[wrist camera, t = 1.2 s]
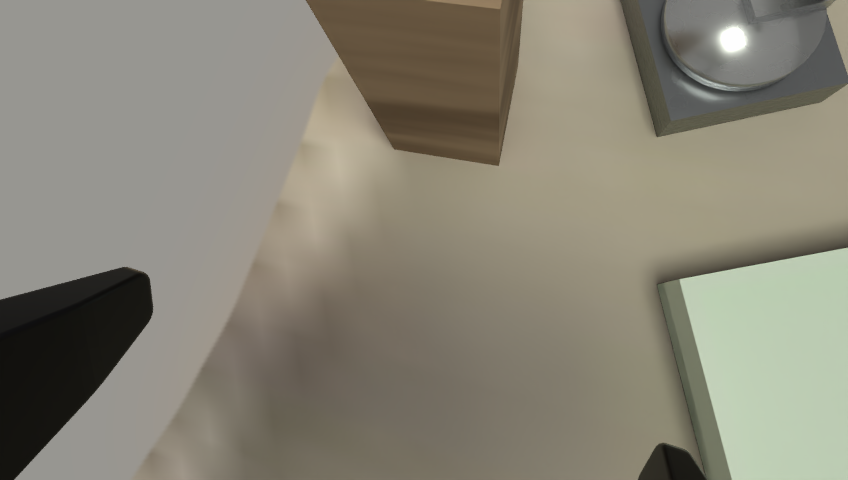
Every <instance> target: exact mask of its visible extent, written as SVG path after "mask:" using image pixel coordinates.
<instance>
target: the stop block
mask: <svg viewBox="0 0 848 480" xmlns="http://www.w3.org/2000/svg"><path fill="white" fill-rule="evenodd" d="M306 1H307V3H308V5H309V6H310V8H311V10H312V11H313V13H314V15H315V16H316V18H317V20H318V21H319V23H320V25H321V26H322V28H323V30H324V32H325V33H326V35H327V37H328V38H329V40H330V42H331V43H332V45H333V47H334V48H335V50H336V52H337V53H338V55H339V57H340V59H341V60H342V62H343V64H344V65H345V67H346V69H347V70H348V72H349V74H350V75H351V77H352V79H353V80H354V82H355V84H356V86H357V87H358V89H359V91H360V92H361V94H362V96H363V97H364V99H365V101H366V102H367V104H368V106H369V107H370V109H371V111H372V113H373V114H374V116H375V118H376V119H377V121H378V123H379V124H380V126H381V128H382V129H383V131H384V133H385V134H386V136H387V138H388V139H389V141H390V143H391V145H392V146H393V148H394V149H397V150H403V151H409V152H415V153H422V154H428V155H434V156H441V157H447V158H453V159H459V160H466V161H472V162H478V163H484V164H491V165H497V166H499V162H500V156H501V151H502V146H503V140H504V135H505V130H506V125H507V119H508V114H509V109H510V104H511V98H512V93H513V88H514V83H515V77H516V72H517V67H518V58H519V46H520V33H521V21H522V9H523V0H306Z"/></svg>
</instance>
